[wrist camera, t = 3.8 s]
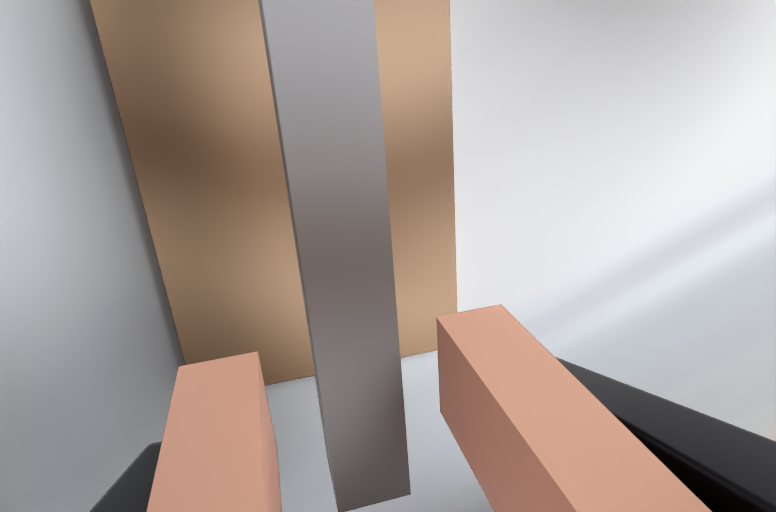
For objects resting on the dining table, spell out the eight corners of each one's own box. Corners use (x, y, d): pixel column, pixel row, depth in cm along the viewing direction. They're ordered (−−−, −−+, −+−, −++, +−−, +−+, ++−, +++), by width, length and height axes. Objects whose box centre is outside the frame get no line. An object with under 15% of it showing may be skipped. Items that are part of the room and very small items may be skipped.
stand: (56, -171, 10) (-235, -518, 4) (430, -168, 12) (630, -416, 6) (197, 380, 16) (163, 601, 9) (447, 330, 17) (562, 490, 11)
